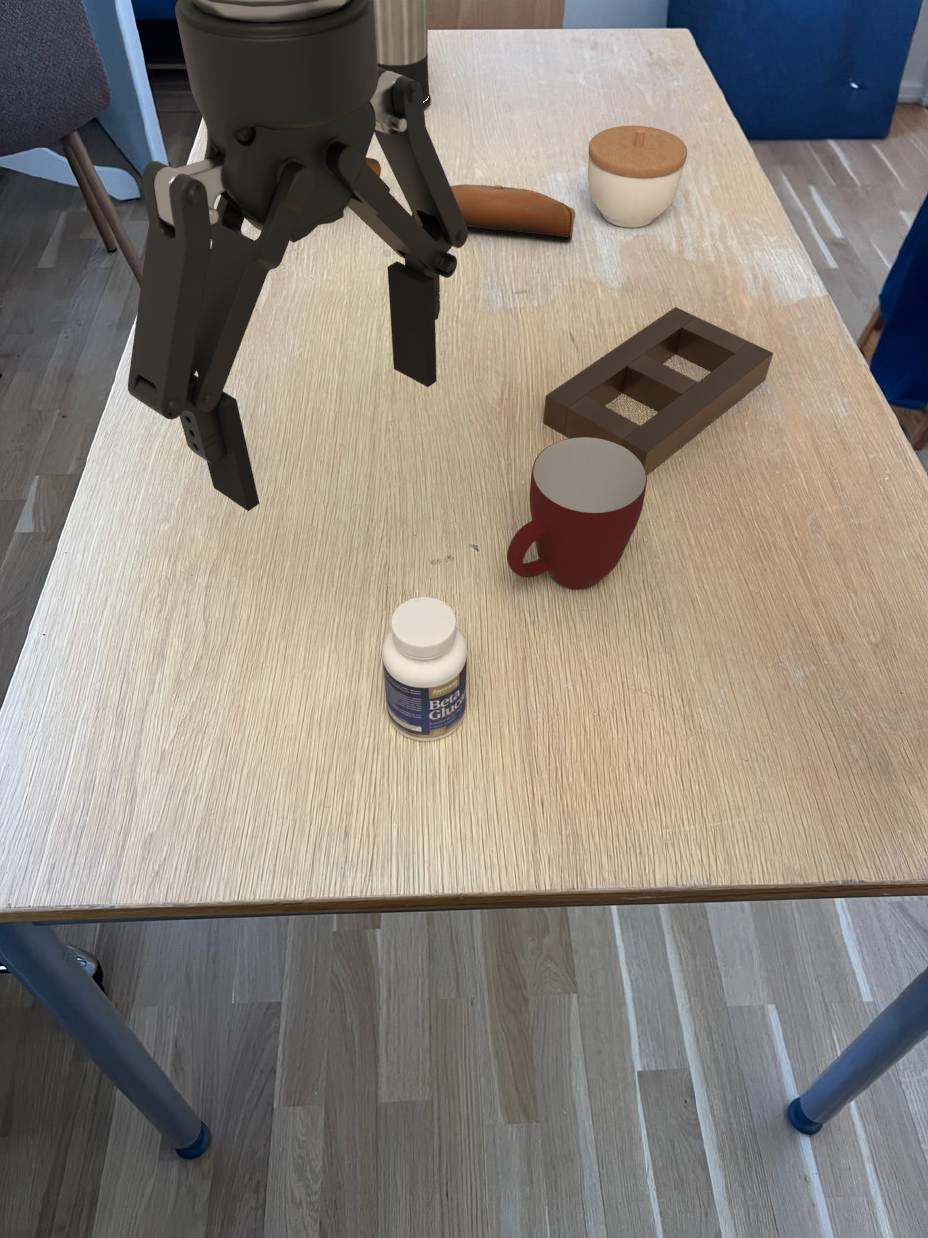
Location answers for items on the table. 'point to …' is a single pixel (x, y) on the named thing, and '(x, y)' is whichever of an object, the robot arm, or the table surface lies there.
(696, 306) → the table surface
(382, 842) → the table surface
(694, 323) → the holder
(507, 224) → the sunglasses case
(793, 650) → the table surface
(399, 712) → the pill bottle
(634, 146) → the trinket box
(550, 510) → the mug
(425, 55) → the milk frother
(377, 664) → the table surface
